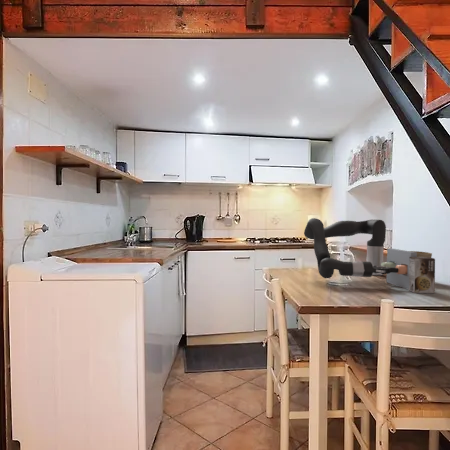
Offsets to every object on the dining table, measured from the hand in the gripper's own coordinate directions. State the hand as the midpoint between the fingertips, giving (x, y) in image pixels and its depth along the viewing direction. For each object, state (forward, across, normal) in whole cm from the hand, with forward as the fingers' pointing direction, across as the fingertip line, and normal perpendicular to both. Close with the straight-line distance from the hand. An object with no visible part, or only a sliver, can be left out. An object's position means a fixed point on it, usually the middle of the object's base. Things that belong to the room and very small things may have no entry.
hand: (397, 270), depth 171 cm
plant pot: (+17, -20, -9) cm, 27 cm away
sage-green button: (0, -10, -2) cm, 10 cm away
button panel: (+4, -6, -9) cm, 11 cm away
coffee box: (+8, +8, -9) cm, 14 cm away
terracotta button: (+4, -1, -2) cm, 4 cm away
